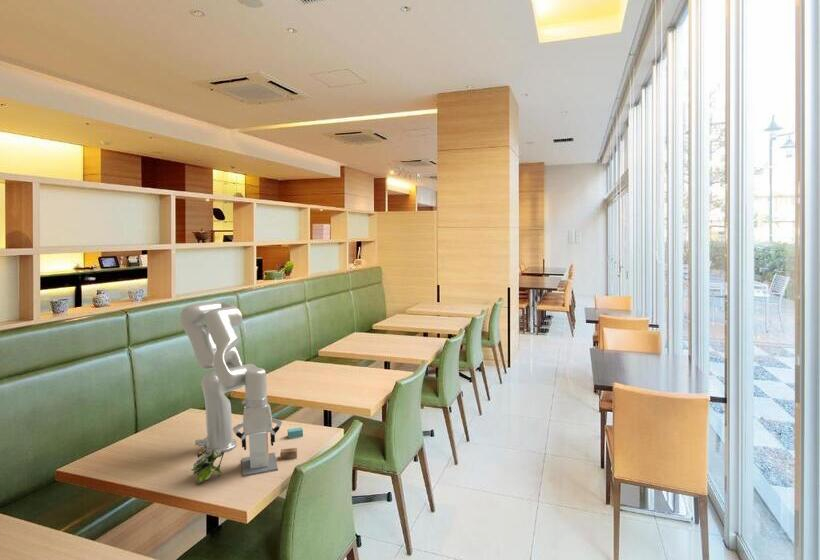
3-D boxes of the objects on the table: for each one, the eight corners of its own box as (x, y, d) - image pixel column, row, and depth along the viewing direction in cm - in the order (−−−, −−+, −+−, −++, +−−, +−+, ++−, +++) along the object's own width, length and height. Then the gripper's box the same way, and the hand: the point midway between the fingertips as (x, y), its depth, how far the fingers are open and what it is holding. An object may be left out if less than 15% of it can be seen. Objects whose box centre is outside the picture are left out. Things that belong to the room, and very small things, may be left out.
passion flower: (203, 488, 171) (209, 453, 177) (229, 485, 168) (234, 450, 174) (181, 484, 162) (189, 447, 168) (208, 481, 159) (215, 444, 165)
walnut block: (280, 460, 180) (280, 452, 180) (281, 456, 183) (281, 449, 183) (296, 458, 181) (296, 451, 181) (297, 455, 184) (296, 447, 184)
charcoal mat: (243, 476, 168) (243, 474, 168) (242, 459, 181) (242, 457, 181) (277, 470, 172) (277, 468, 172) (274, 453, 185) (274, 452, 185)
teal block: (288, 439, 199) (288, 432, 199) (287, 436, 202) (287, 429, 202) (302, 436, 201) (302, 429, 201) (301, 434, 204) (301, 427, 204)
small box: (268, 466, 173) (266, 432, 172) (250, 469, 172) (248, 434, 171) (268, 456, 181) (267, 424, 180) (251, 459, 180) (250, 426, 178)
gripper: (231, 408, 168) (234, 454, 169) (281, 401, 174) (283, 446, 175) (231, 401, 175) (233, 446, 176) (279, 395, 181) (281, 438, 182)
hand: (258, 446), depth 176 cm, fingers open, 9 cm apart
